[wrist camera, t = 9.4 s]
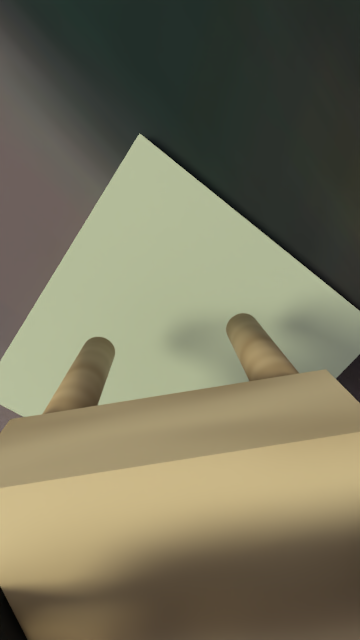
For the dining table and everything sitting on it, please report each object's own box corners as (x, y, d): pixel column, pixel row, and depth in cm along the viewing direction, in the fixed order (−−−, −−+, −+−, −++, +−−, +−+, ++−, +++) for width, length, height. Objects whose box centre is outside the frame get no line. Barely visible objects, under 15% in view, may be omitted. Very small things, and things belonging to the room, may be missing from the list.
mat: (140, 136, 13) (139, 133, 12) (377, 326, 16) (383, 330, 16) (-15, 388, 16) (-20, 394, 16) (204, 504, 19) (206, 511, 19)
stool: (72, 335, 12) (-46, 495, 5) (261, 304, 12) (384, 428, 5) (114, 482, 14) (69, 722, 8) (273, 457, 14) (368, 679, 7)
